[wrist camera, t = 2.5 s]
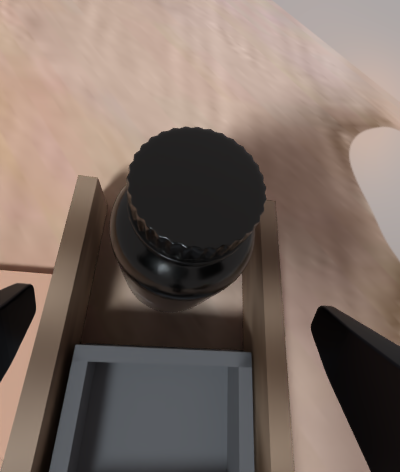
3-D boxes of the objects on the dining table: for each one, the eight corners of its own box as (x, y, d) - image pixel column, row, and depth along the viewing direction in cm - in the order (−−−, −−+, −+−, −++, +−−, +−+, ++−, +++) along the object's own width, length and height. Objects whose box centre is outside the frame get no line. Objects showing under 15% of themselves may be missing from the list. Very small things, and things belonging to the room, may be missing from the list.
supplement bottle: (112, 301, 18) (47, 246, 7) (141, 216, 21) (128, 78, 10) (206, 324, 19) (286, 307, 7) (223, 238, 21) (300, 132, 10)
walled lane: (266, 567, 14) (306, 646, 11) (4, 587, 12) (-58, 692, 9) (255, 223, 22) (275, 201, 18) (91, 204, 20) (78, 175, 17)
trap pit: (237, 521, 15) (256, 563, 12) (52, 530, 13) (26, 580, 11) (236, 350, 18) (251, 352, 15) (88, 343, 17) (75, 344, 14)
